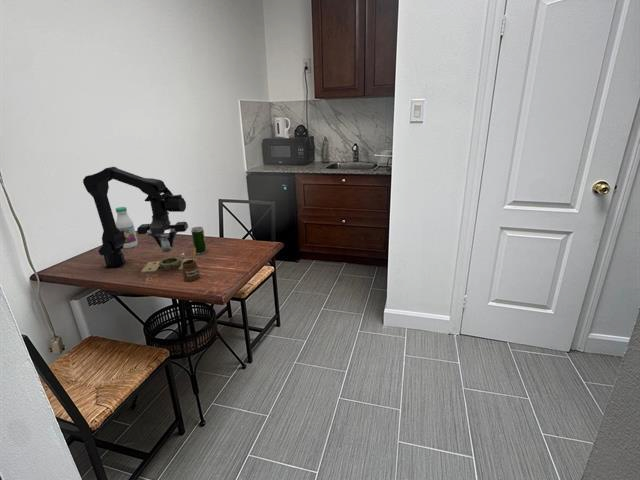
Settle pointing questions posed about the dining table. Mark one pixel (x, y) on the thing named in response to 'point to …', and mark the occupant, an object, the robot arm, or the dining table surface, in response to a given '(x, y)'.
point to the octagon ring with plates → (165, 264)
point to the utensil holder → (190, 269)
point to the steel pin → (165, 243)
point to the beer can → (199, 240)
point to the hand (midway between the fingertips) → (166, 247)
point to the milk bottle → (126, 227)
